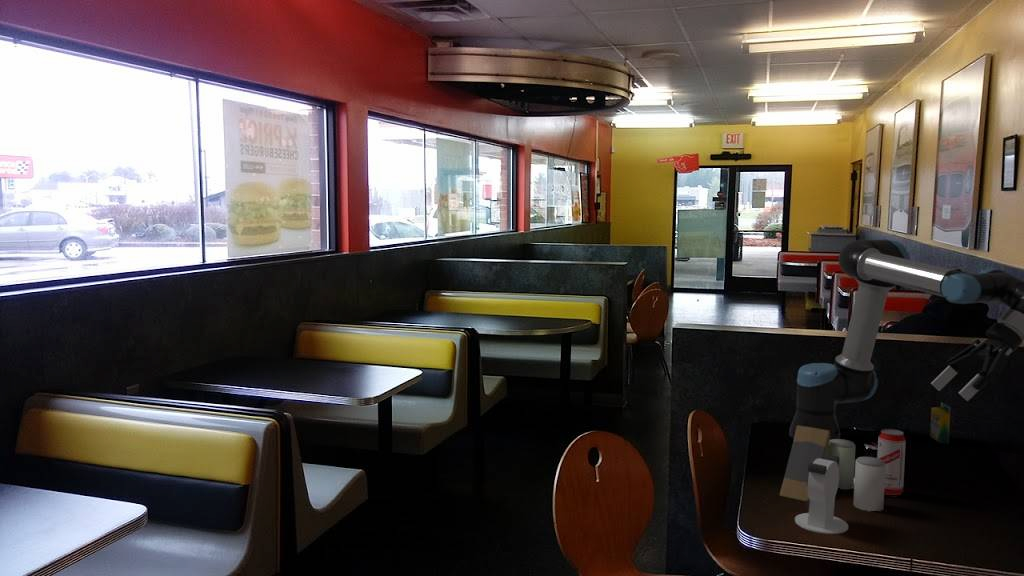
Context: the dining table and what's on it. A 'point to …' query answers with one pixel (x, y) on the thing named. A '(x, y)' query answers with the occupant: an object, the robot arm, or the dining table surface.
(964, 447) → the dining table surface
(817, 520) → the white post on disc
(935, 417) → the crayon box
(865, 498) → the off-white tin
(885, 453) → the beer can
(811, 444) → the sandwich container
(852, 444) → the sage tin
